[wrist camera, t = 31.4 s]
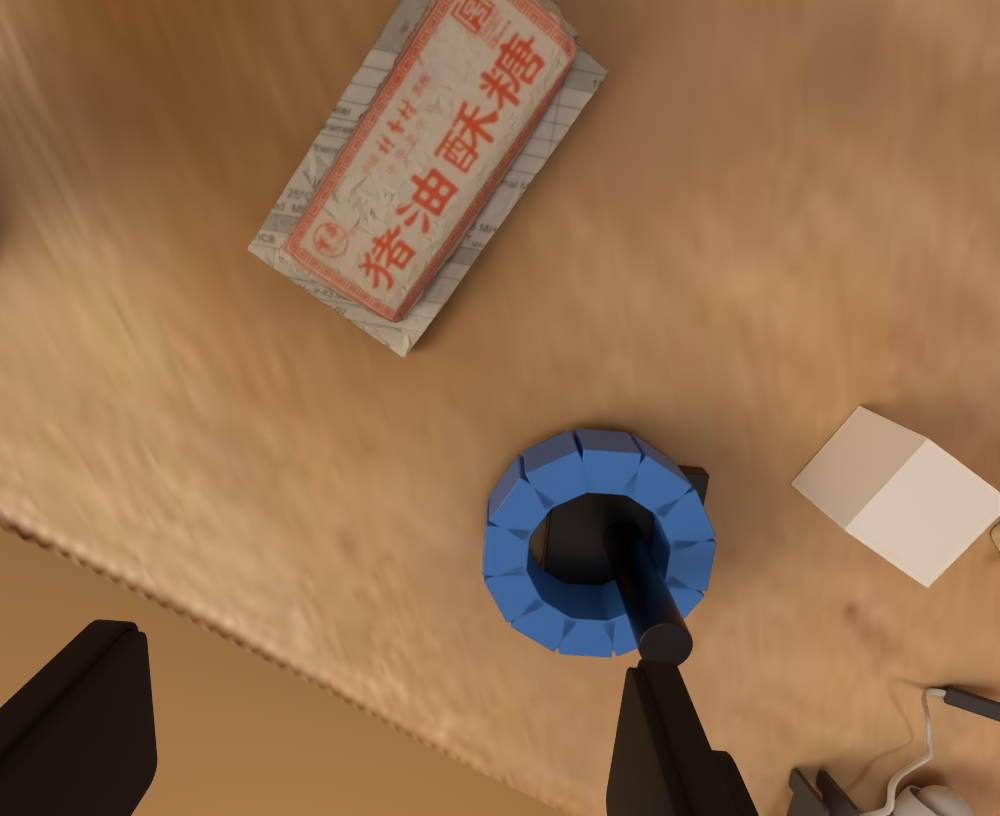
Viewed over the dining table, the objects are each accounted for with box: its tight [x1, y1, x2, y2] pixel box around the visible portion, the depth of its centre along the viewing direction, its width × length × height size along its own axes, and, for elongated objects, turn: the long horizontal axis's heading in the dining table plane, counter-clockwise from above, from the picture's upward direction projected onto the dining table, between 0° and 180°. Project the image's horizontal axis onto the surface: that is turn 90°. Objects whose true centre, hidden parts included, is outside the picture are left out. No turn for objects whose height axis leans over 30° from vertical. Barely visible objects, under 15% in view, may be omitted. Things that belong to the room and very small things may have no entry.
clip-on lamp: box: [787, 686, 1000, 816], centre depth 40 cm, size 12×6×18 cm
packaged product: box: [248, 0, 609, 358], centre depth 30 cm, size 18×5×10 cm
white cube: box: [791, 406, 1000, 588], centre depth 34 cm, size 6×6×6 cm
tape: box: [482, 428, 716, 657], centre depth 35 cm, size 12×12×4 cm
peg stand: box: [542, 466, 709, 666], centre depth 32 cm, size 9×9×11 cm
